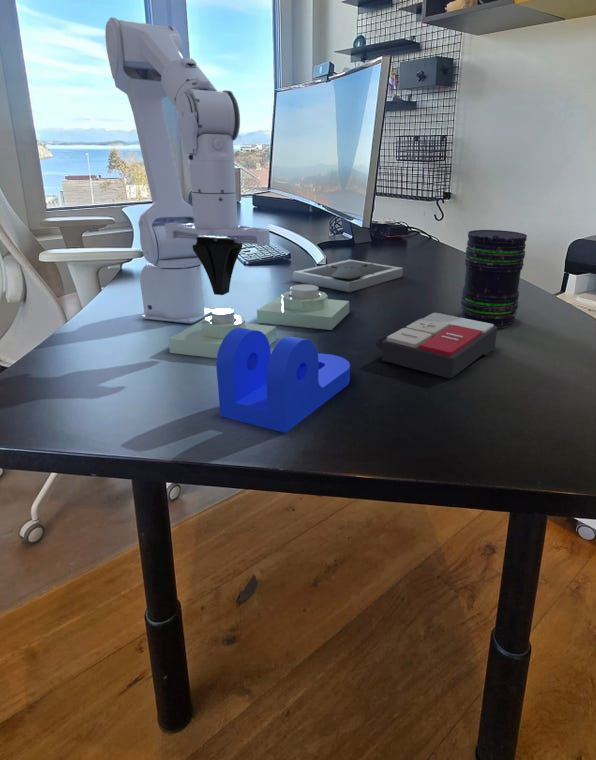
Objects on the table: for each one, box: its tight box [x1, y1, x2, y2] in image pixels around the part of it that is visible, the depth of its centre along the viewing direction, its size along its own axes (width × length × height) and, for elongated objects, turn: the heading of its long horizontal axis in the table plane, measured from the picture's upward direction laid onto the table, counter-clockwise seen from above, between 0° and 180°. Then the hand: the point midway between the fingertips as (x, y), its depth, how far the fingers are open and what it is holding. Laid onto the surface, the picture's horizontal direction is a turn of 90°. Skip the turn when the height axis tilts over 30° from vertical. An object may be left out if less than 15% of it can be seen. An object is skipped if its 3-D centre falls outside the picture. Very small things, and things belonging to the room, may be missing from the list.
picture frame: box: [292, 259, 404, 293], centre depth 125 cm, size 16×3×21 cm
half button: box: [210, 307, 235, 324], centre depth 79 cm, size 3×3×2 cm
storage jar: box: [459, 229, 528, 329], centre depth 94 cm, size 10×10×15 cm
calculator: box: [381, 312, 498, 379], centre depth 79 cm, size 11×4×15 cm
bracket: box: [215, 328, 351, 434], centre depth 64 cm, size 18×8×9 cm, turn 155°
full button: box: [289, 283, 320, 299], centre depth 94 cm, size 5×5×2 cm
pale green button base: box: [167, 314, 277, 359], centre depth 80 cm, size 12×10×4 cm
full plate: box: [256, 290, 350, 331], centre depth 95 cm, size 13×11×4 cm
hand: (221, 293), depth 77 cm, fingers closed
